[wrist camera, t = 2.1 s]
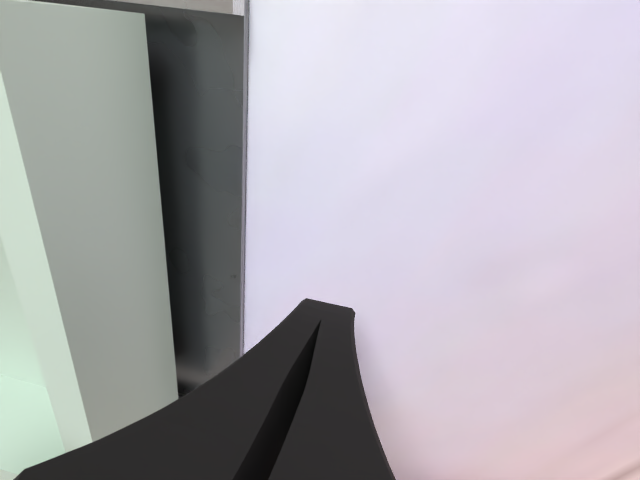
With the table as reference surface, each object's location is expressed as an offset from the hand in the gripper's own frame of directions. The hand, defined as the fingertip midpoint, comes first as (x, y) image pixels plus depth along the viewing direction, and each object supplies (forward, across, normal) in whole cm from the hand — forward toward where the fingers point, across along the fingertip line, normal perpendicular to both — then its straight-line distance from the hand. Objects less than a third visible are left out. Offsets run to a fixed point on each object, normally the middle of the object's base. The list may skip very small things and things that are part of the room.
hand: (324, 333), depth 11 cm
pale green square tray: (+3, +12, 0) cm, 13 cm away
